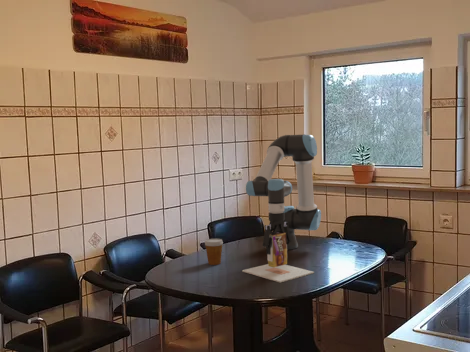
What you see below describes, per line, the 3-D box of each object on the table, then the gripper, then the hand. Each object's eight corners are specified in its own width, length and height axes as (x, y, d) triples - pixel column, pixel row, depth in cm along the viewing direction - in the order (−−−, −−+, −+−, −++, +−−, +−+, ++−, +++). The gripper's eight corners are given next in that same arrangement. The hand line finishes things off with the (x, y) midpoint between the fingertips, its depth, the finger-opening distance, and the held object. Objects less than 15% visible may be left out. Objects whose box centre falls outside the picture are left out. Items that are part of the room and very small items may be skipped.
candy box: (281, 262, 265) (280, 231, 263) (287, 264, 261) (286, 232, 260) (267, 266, 259) (266, 234, 258) (273, 267, 256) (273, 235, 254)
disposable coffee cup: (209, 260, 287) (208, 238, 286) (226, 261, 284) (225, 238, 282) (202, 265, 278) (201, 241, 277) (219, 266, 275) (219, 242, 274)
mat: (242, 271, 264) (242, 270, 264) (275, 263, 278) (275, 261, 278) (280, 282, 244) (280, 280, 244) (313, 273, 258) (313, 271, 258)
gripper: (265, 215, 248) (266, 264, 250) (298, 210, 262) (299, 256, 264) (254, 213, 254) (255, 261, 256) (287, 208, 268) (288, 254, 270)
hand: (277, 259), depth 260 cm, fingers closed on candy box, 9 cm apart
